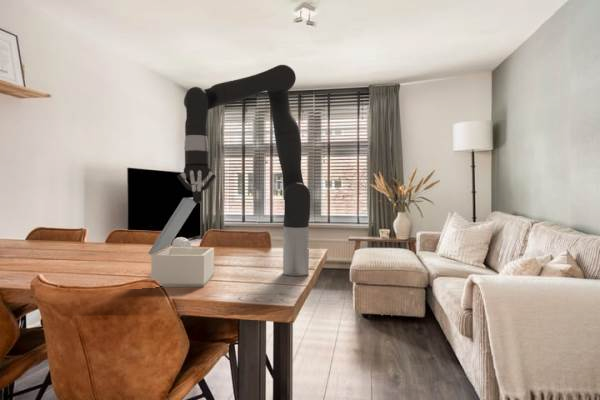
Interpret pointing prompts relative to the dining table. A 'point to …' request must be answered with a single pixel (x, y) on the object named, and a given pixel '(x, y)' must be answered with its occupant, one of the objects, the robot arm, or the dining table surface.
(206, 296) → the dining table surface
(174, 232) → the carton lid
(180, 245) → the white rounded piece
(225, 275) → the dining table surface
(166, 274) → the carton
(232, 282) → the dining table surface
